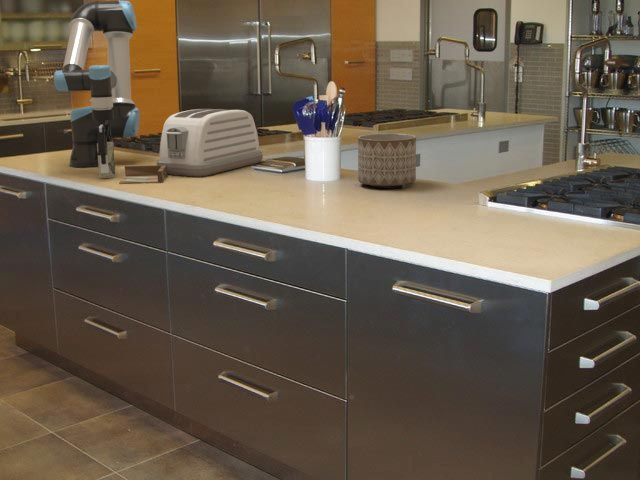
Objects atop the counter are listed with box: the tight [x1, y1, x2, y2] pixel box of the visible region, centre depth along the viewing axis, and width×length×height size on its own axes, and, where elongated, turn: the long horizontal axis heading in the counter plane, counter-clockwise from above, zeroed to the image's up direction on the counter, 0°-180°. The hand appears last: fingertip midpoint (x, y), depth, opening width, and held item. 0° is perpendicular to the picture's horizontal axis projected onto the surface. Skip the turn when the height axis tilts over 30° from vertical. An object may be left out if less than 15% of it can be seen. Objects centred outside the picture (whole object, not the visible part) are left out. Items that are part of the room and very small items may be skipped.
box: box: [97, 141, 116, 179], centre depth 325 cm, size 5×4×13 cm
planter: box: [357, 132, 417, 189], centre depth 297 cm, size 19×19×16 cm
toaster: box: [156, 108, 264, 178], centre depth 341 cm, size 23×45×22 cm, turn 150°
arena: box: [118, 164, 168, 185], centre depth 319 cm, size 15×15×4 cm
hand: (107, 170), depth 326 cm, fingers open, 8 cm apart
